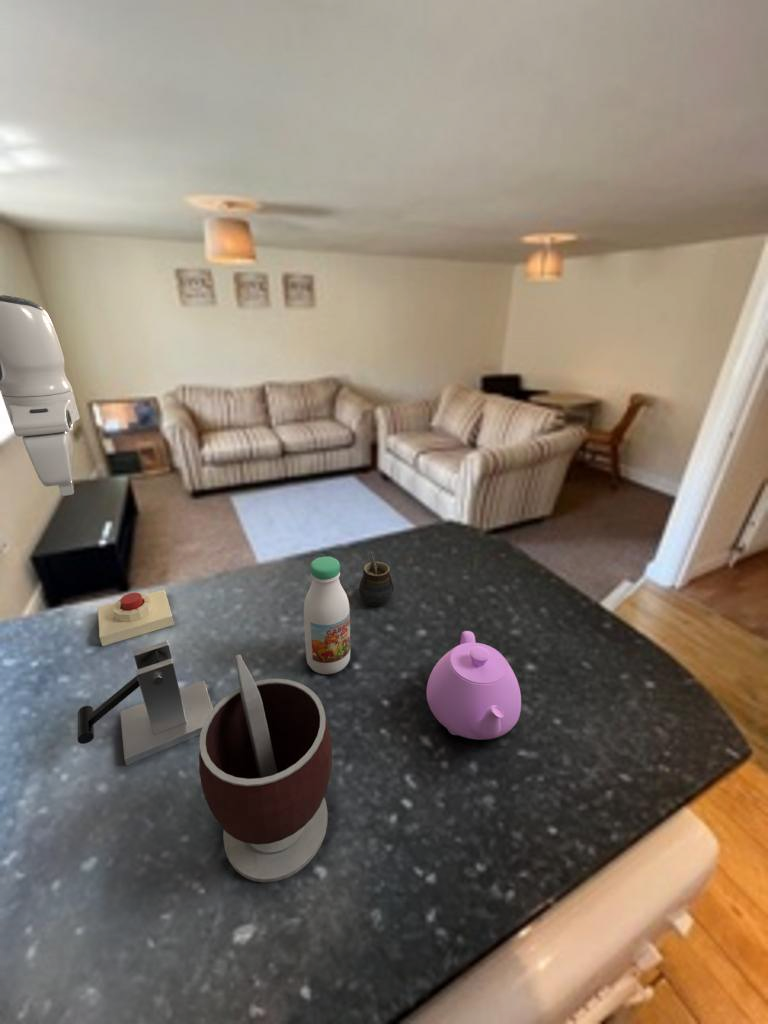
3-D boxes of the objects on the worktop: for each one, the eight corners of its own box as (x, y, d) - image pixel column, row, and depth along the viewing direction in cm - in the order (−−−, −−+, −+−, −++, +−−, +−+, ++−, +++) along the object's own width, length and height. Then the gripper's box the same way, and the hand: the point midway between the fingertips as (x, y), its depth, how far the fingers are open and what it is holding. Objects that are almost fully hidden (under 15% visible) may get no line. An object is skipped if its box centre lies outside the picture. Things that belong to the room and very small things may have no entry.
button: (122, 613, 83) (120, 605, 83) (121, 603, 86) (119, 595, 85) (144, 607, 85) (142, 600, 84) (142, 597, 88) (140, 590, 87)
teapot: (539, 779, 60) (556, 715, 55) (434, 780, 60) (442, 716, 54) (499, 668, 78) (510, 612, 73) (419, 668, 78) (424, 612, 72)
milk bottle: (298, 667, 77) (290, 569, 69) (320, 639, 84) (315, 546, 75) (337, 681, 75) (335, 581, 66) (357, 651, 81) (357, 556, 73)
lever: (87, 746, 59) (72, 740, 57) (87, 718, 62) (72, 711, 61) (172, 675, 61) (160, 667, 60) (167, 652, 65) (155, 644, 63)
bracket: (126, 765, 60) (103, 697, 55) (121, 717, 67) (101, 652, 62) (218, 727, 66) (205, 661, 61) (205, 686, 73) (192, 623, 68)
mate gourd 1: (354, 842, 53) (354, 724, 44) (236, 922, 46) (208, 799, 37) (301, 742, 64) (293, 633, 56) (201, 793, 57) (173, 677, 49)
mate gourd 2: (368, 614, 91) (369, 573, 86) (352, 594, 96) (351, 555, 92) (399, 604, 94) (401, 563, 90) (381, 585, 100) (382, 547, 96)
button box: (102, 646, 81) (96, 629, 79) (100, 615, 88) (95, 599, 86) (174, 625, 86) (170, 608, 85) (166, 597, 94) (162, 581, 92)
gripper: (25, 399, 76) (49, 475, 82) (10, 428, 60) (41, 519, 66) (69, 396, 79) (89, 470, 85) (66, 423, 63) (91, 511, 69)
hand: (68, 492), depth 75 cm, fingers closed
